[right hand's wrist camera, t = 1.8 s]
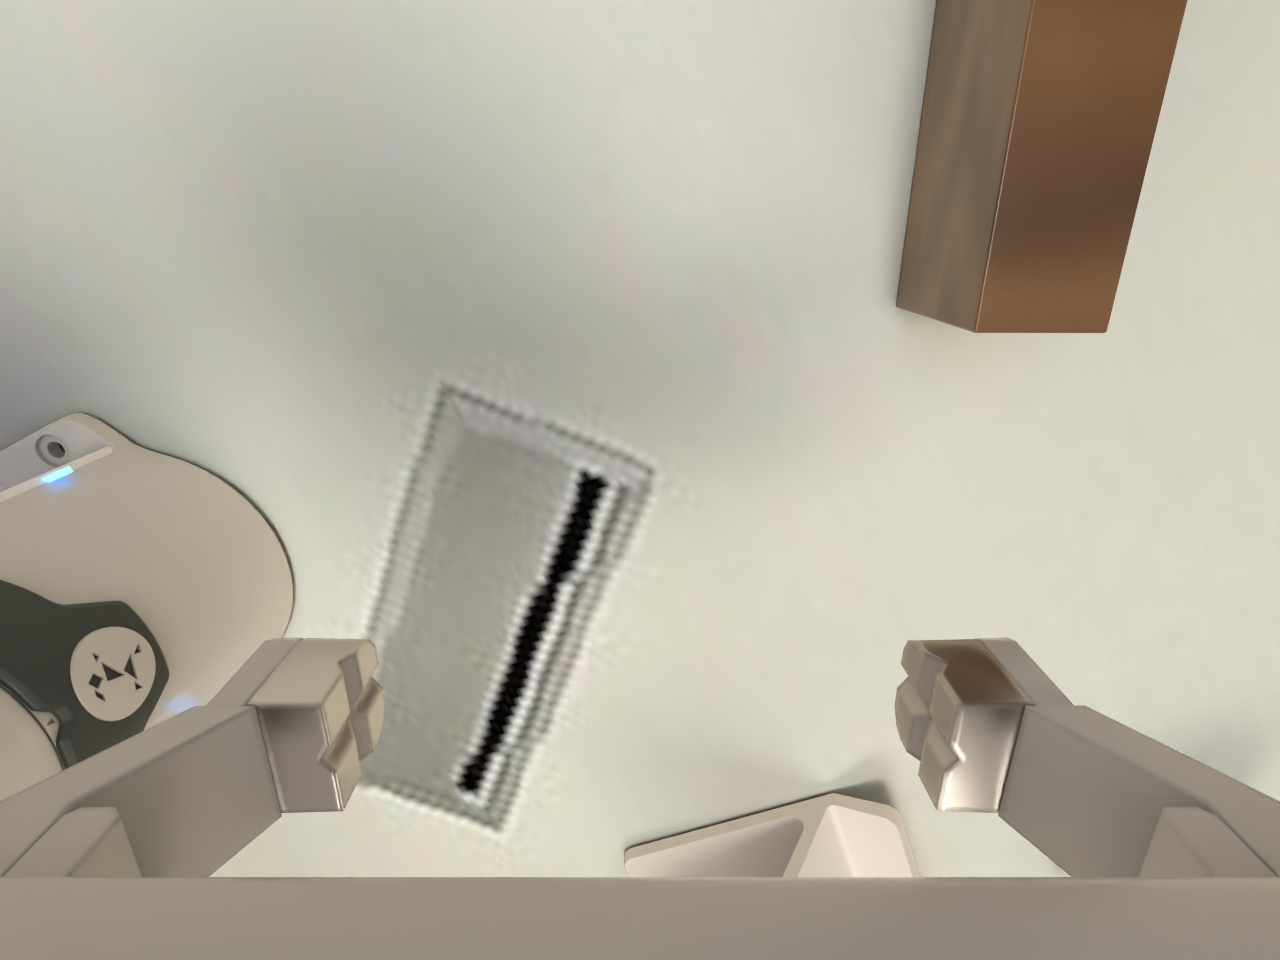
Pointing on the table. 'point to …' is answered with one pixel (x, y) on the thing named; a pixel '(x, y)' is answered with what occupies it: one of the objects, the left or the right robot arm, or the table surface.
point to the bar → (1033, 159)
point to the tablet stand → (788, 844)
